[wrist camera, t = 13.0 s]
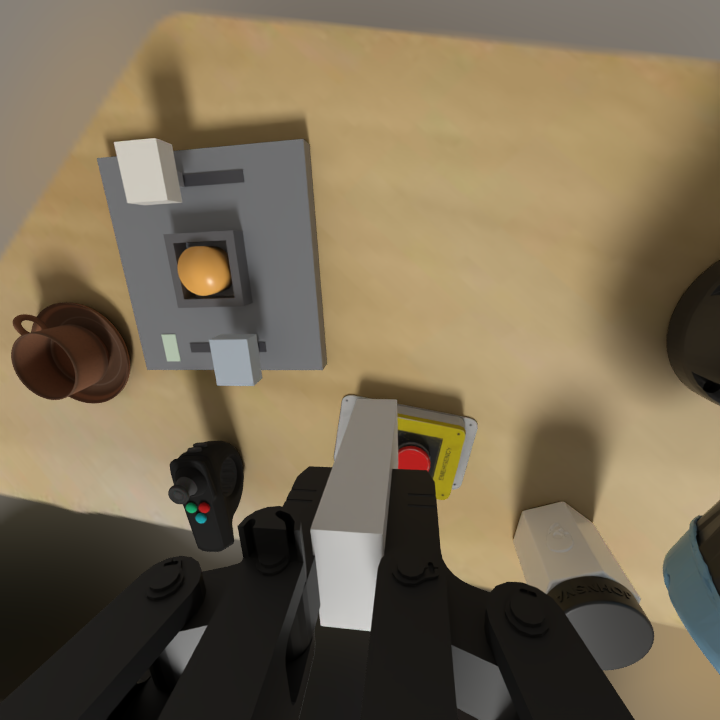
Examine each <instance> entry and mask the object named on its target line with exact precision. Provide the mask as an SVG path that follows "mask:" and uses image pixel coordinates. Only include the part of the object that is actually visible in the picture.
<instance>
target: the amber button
mask: <svg viewBox="0 0 720 720" xmlns="http://www.w3.org/2000/svg"><path fill="white" fill-rule="evenodd" d="M177 269H178V275H179V278H180V280H181V282H182V283H183V285H184V286H185V287H186V288H187V289H188V290H189V291H191V292H192V293H194V294H197V295H201V296H207V295H211V294H214V293H218V292H222V291H224V290H226V289H228V288H229V287H230V286H231V284H232V277H231V271H230V264H229V257H228V254H227V253H226V252H225V251H224V250H222V249H221V248H218V247H215V246H195V247H190V248H188V249H186V250H185V251H184V252H183V253H182V254H181V256H180V257H179V260H178V266H177Z"/></svg>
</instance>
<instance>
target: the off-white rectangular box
mask: <svg viewBox="0 0 720 720" xmlns="http://www.w3.org/2000/svg"><path fill="white" fill-rule="evenodd" d="M114 145H115V150H116V154H117V159H118V163H119V168H120V172H121V177H122V181H123V186H124V190H125V194H126V199H127V203H130V204H138V205H155V204H169V203H182V197H181V192H180V188H181V187H184V182H183V176H182V173H181V172H178V171H177V170H176V164H175V159H174V153H173V148H172V144H170V143H167V142H165V141H162V140H160V139H157V138H150V139H140V140H130V141H120V142H114Z"/></svg>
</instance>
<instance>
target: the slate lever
mask: <svg viewBox="0 0 720 720" xmlns="http://www.w3.org/2000/svg"><path fill="white" fill-rule="evenodd" d="M209 343H210V348H211V354H212V360H213V365H214V371H215V376H216V382H217V386H254V385H255V384H256V383H257V382H259V381H260V380H261V379H262V372H261V365H260V358H259V348H258V343H257V336H256V334H220V335H218V336H216V337H214V338H212V339H210V340H209Z"/></svg>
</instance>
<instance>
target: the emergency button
mask: <svg viewBox="0 0 720 720" xmlns="http://www.w3.org/2000/svg"><path fill="white" fill-rule="evenodd" d="M357 399H371V398H366V397H361V396H355V395H347V396H345V397H344V398H343V400H342V405H341V412H340V419H339V426H338V433H337V440H336V446H335V453H334V461H335V459H336V456H337V453H338V451H339V448H340V445H341V442H342V439H343V437H344V434H345V431H346V428H347V425H348V423H349V420H350V417H351V414H352V411H353V409H354V406H355V403H356V400H357ZM397 421H398V469H411V470H427V471H428V473H429V474H430V476H431V477H432V478H433V480H434V481H435V490H436V499H439V500H445V499H447V498H448V497H449V496H450V493H451V489H457V488H459V487H460V486H461V484H462V481H463V477H464V474H465V470H466V467H467V463H468V460H469V456H470V453H471V449H472V446H473V442H474V439H475V435H476V432H477V423H476V421H475V420H474V419H471V418H468V417H463V416H458V415H453V414H448V413H443V412H438V411H432V410H427V409H422V408H417V407H412V406H407V405H402V404H397Z"/></svg>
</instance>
